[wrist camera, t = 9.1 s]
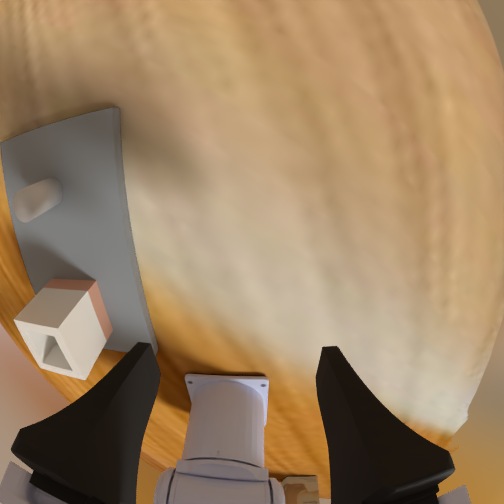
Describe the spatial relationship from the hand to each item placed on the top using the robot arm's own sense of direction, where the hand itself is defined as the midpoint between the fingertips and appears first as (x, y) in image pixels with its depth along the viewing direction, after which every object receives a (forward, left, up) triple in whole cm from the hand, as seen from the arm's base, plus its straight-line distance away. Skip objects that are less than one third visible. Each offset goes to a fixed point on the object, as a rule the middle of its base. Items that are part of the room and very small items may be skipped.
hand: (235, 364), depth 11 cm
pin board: (+1, +14, -9) cm, 17 cm away
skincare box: (-47, -9, -10) cm, 49 cm away
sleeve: (-4, +14, -8) cm, 17 cm away
